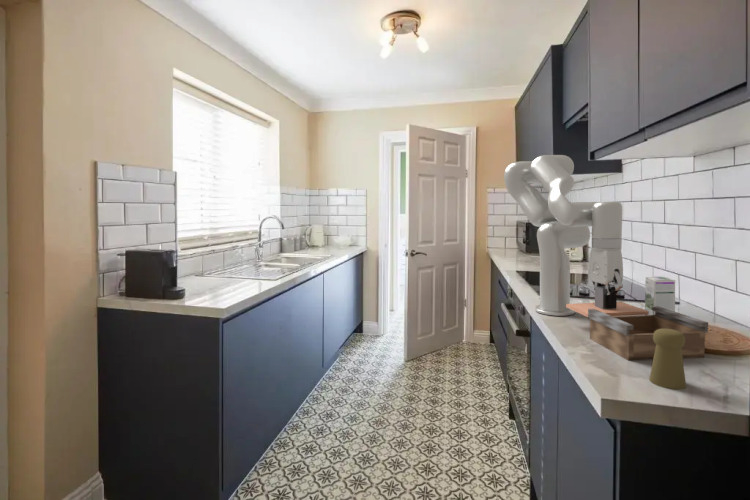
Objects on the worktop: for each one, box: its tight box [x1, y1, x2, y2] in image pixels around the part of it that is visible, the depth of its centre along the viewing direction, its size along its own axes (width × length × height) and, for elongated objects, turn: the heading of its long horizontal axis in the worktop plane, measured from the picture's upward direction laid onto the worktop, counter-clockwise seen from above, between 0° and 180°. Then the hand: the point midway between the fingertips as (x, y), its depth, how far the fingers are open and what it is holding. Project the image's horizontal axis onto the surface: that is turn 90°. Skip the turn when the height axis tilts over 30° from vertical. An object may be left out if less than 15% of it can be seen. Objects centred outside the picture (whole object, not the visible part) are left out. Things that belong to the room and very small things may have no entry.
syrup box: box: [644, 276, 676, 315], centre depth 115 cm, size 6×6×14 cm
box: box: [587, 306, 709, 361], centre depth 98 cm, size 16×19×8 cm
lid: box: [566, 286, 649, 318], centre depth 114 cm, size 12×17×7 cm
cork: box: [649, 329, 687, 390], centre depth 78 cm, size 6×6×11 cm
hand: (605, 305), depth 114 cm, fingers closed on lid, 4 cm apart
